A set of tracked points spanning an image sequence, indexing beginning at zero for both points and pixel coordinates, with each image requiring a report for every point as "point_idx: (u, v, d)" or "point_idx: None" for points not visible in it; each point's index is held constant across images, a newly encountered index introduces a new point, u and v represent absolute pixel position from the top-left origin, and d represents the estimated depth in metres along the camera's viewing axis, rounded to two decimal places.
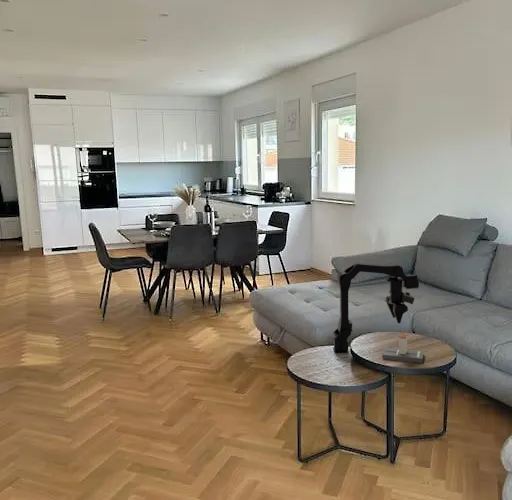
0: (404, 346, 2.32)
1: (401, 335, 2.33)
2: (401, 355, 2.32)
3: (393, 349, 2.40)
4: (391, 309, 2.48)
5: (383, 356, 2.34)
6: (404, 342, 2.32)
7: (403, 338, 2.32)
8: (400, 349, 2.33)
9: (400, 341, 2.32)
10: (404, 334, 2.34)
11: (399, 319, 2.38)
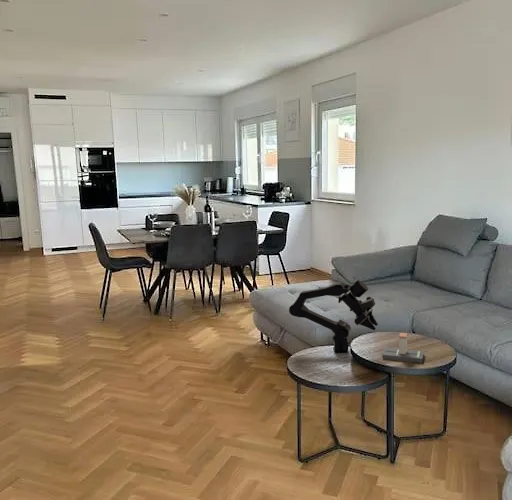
0: (404, 346, 2.32)
1: (401, 335, 2.33)
2: (401, 355, 2.32)
3: (393, 349, 2.40)
4: (369, 320, 2.43)
5: (383, 356, 2.34)
6: (404, 342, 2.32)
7: (403, 338, 2.32)
8: (400, 349, 2.33)
9: (400, 341, 2.32)
10: (404, 334, 2.34)
11: (371, 326, 2.35)
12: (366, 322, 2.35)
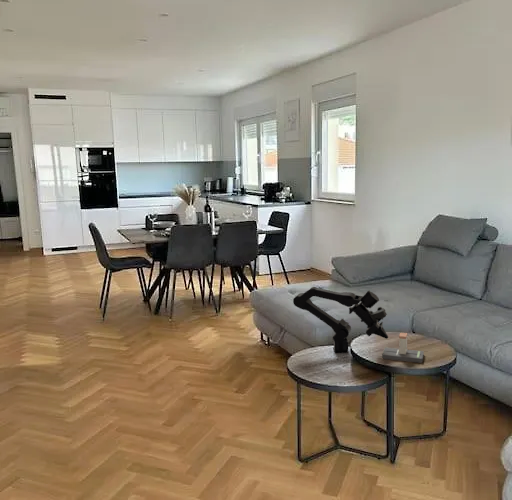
0: (404, 346, 2.32)
1: (401, 335, 2.33)
2: (401, 355, 2.32)
3: (393, 349, 2.40)
4: None
5: (383, 356, 2.34)
6: (404, 342, 2.32)
7: (403, 338, 2.32)
8: (400, 349, 2.33)
9: (400, 341, 2.32)
10: (404, 334, 2.34)
11: (384, 335, 2.36)
12: (379, 331, 2.37)
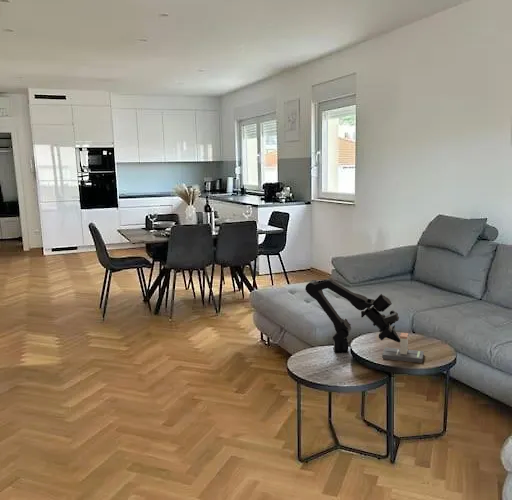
0: (405, 346, 2.32)
1: (402, 335, 2.33)
2: (401, 355, 2.32)
3: (393, 349, 2.40)
4: None
5: (383, 356, 2.34)
6: (405, 342, 2.32)
7: (404, 338, 2.31)
8: (401, 349, 2.33)
9: (401, 341, 2.32)
10: (405, 334, 2.34)
11: (396, 339, 2.34)
12: (391, 335, 2.35)
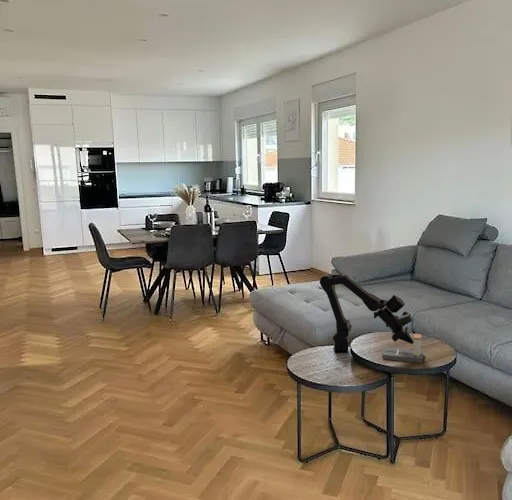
0: (418, 347, 2.30)
1: (415, 336, 2.31)
2: (401, 355, 2.32)
3: (393, 349, 2.40)
4: None
5: (383, 356, 2.34)
6: (418, 343, 2.29)
7: (417, 339, 2.29)
8: (414, 350, 2.31)
9: (414, 342, 2.30)
10: (418, 335, 2.32)
11: (409, 340, 2.32)
12: (404, 336, 2.32)
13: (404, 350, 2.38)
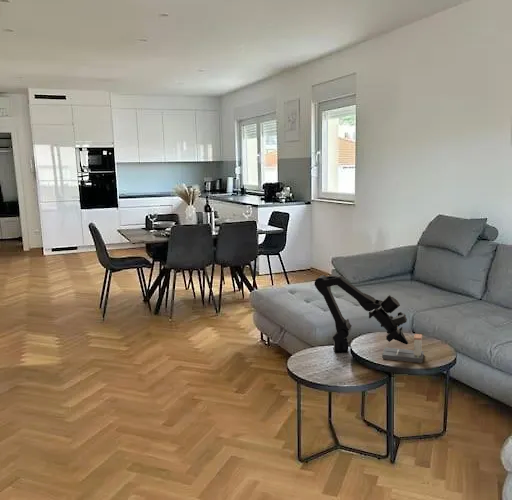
0: (419, 347, 2.30)
1: (416, 336, 2.31)
2: (401, 355, 2.32)
3: (393, 349, 2.40)
4: None
5: (383, 356, 2.34)
6: (419, 343, 2.29)
7: (418, 339, 2.29)
8: (415, 350, 2.31)
9: (415, 342, 2.30)
10: (419, 335, 2.32)
11: (403, 340, 2.33)
12: (398, 336, 2.33)
13: (404, 350, 2.38)
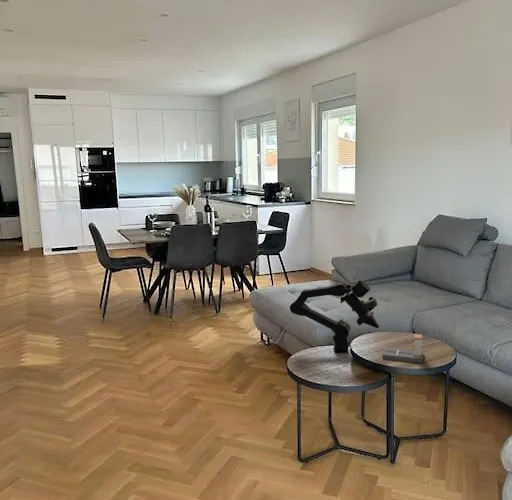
0: (419, 347, 2.30)
1: (416, 336, 2.31)
2: (401, 355, 2.32)
3: (393, 349, 2.40)
4: None
5: (383, 356, 2.34)
6: (419, 343, 2.29)
7: (418, 339, 2.29)
8: (415, 350, 2.31)
9: (415, 342, 2.30)
10: (419, 335, 2.32)
11: (374, 324, 2.37)
12: (369, 320, 2.38)
13: (404, 350, 2.38)
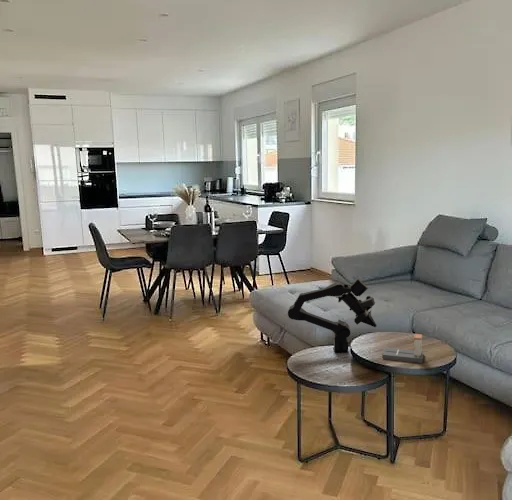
0: (419, 347, 2.30)
1: (416, 336, 2.31)
2: (401, 355, 2.32)
3: (393, 349, 2.40)
4: None
5: (383, 356, 2.34)
6: (419, 343, 2.29)
7: (418, 339, 2.29)
8: (415, 350, 2.31)
9: (415, 342, 2.30)
10: (419, 335, 2.32)
11: (372, 323, 2.39)
12: (367, 319, 2.39)
13: (404, 350, 2.38)
